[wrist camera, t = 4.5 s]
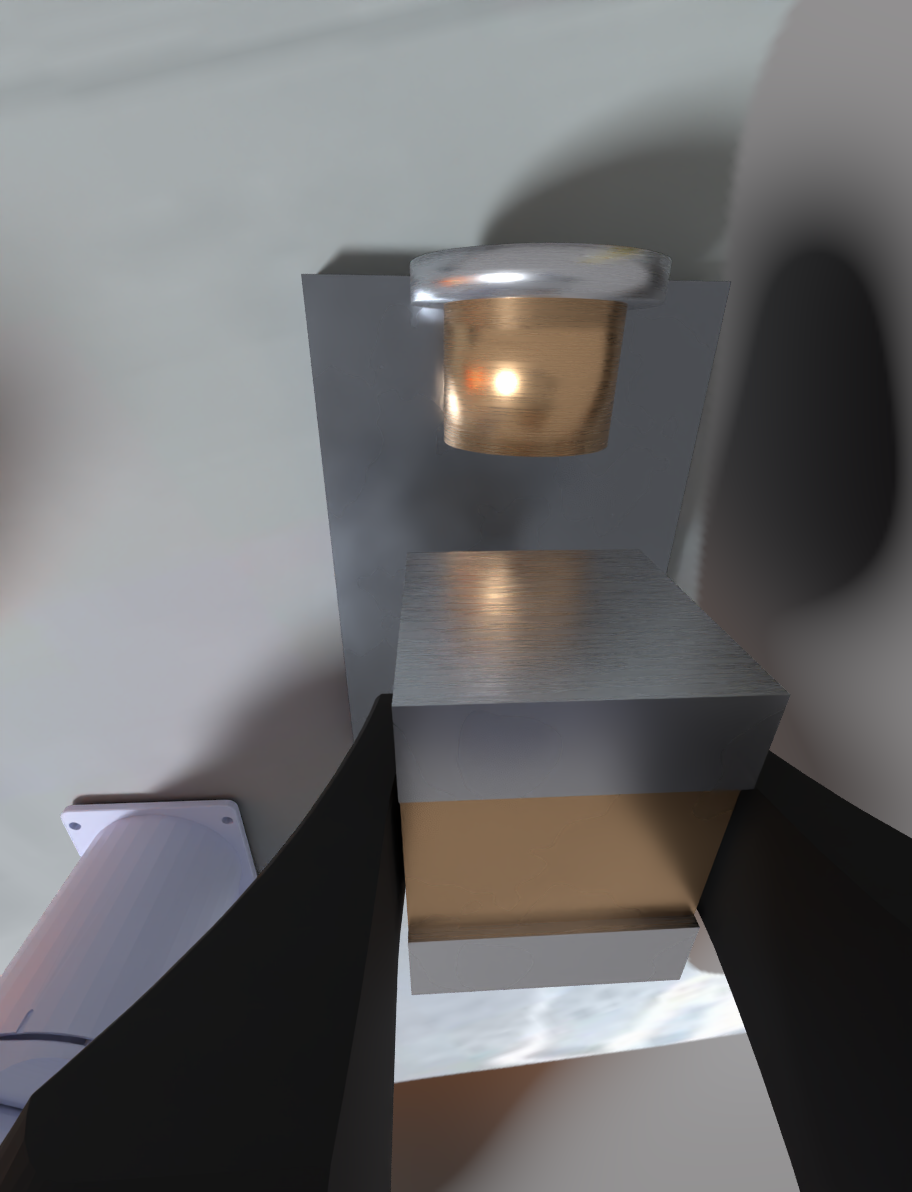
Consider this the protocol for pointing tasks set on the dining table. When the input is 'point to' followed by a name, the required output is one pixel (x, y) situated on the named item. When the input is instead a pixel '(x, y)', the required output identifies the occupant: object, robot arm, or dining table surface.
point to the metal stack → (500, 415)
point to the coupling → (564, 765)
